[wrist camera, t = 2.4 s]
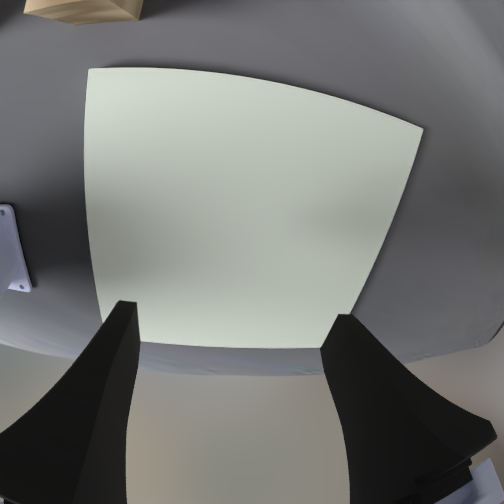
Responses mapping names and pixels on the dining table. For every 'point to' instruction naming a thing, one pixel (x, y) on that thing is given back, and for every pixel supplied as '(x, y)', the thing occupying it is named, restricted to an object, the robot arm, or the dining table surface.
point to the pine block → (85, 10)
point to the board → (235, 203)
